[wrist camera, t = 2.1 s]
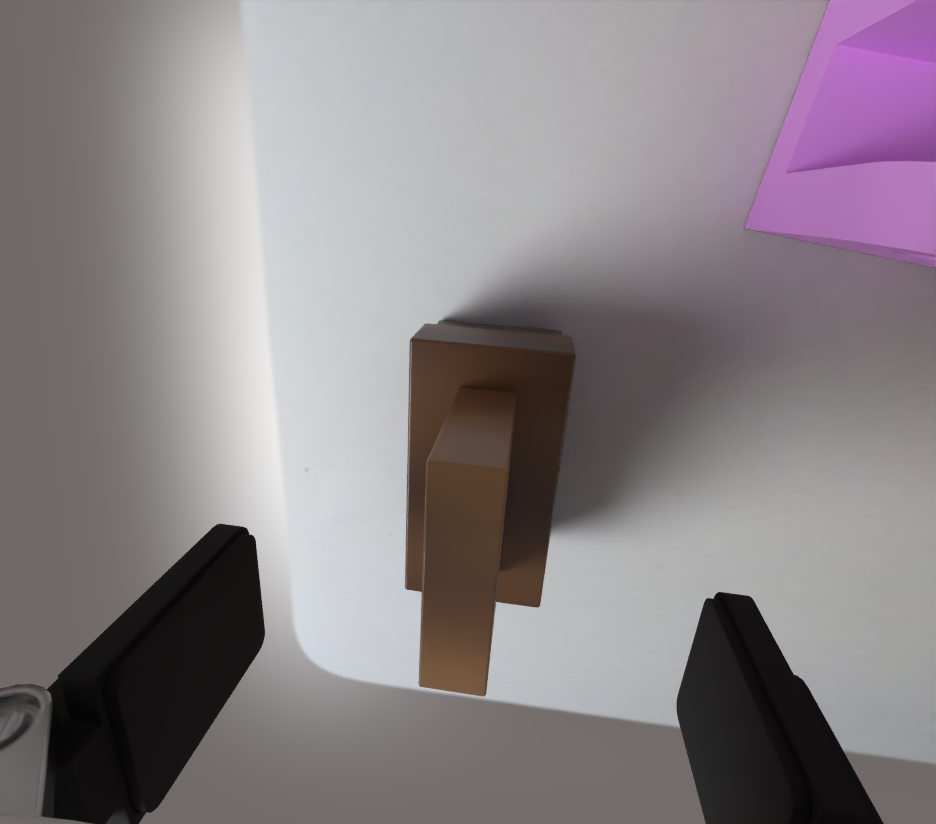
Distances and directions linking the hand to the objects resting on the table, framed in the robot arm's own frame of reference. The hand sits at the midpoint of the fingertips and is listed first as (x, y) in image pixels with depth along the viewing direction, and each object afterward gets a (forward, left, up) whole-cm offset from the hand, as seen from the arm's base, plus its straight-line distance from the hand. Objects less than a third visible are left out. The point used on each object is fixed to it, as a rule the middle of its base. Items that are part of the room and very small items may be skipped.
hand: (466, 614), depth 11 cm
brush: (0, 0, -8) cm, 8 cm away
